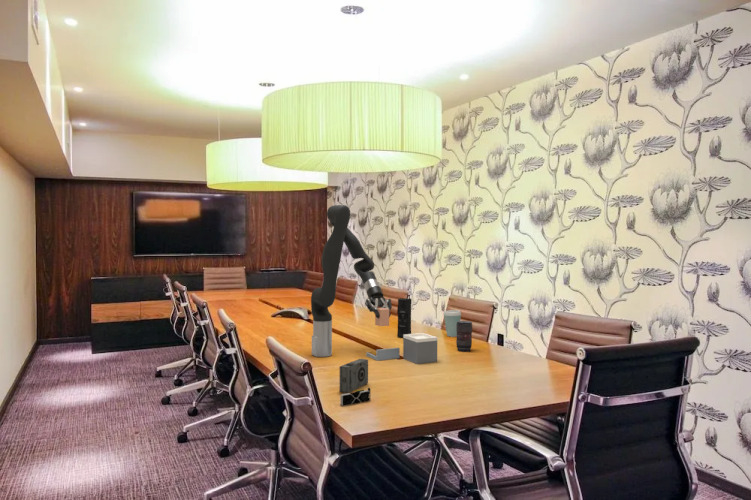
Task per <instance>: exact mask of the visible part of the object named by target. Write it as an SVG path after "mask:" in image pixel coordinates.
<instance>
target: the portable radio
mask: <svg viewBox="0 0 751 500" xmlns="http://www.w3.org/2000/svg"><path fill="white" fill-rule="evenodd" d="M408 295H409V297H408V298H405V297H400V298H398V299H397V309H396V315H397V333H396V334H397V338H399V337H400V338H402V339H403V335H405V334H412V302H413V301H412V298H411V294H408Z"/></svg>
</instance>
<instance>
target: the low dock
mask: <svg viewBox="0 0 751 500" xmlns="http://www.w3.org/2000/svg"><path fill="white" fill-rule="evenodd" d="M400 350H401V349H400V347H391V348H389V347H388V348H382V349H376V351H375V352H376V355H374V354H372V353H371V352H368V351H367V352H365V356H366V357H368V358H370V359H373V360H375V361H377V362H378V361H386V360H387V361H388V360H396V359H397V360H398V359H400V357H401V356H400V352H401V351H400Z"/></svg>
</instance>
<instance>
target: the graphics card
mask: <svg viewBox="0 0 751 500" xmlns="http://www.w3.org/2000/svg"><path fill="white" fill-rule="evenodd" d="M339 398H340V400H339V401H340V406H342V407H346V406H350V405H353V404H354V405H355V403H356V404H360V402H362V403H365V402H364V401H367V402H371V388H370V387H369V386H368V388H367V390H366V389H364V388H363V389H356V390H354V392H349V393H342V394H340V397H339Z"/></svg>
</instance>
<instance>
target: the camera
mask: <svg viewBox="0 0 751 500" xmlns="http://www.w3.org/2000/svg"><path fill="white" fill-rule="evenodd" d="M367 383H368V384H369V359H364V358H359V359H356V360H353V361H350V362H347V363H345V364H343V365H339V387H338V388H339V393H343V394H347V393H352V392H353V390H354V391H356V390H358V389H360V388H362V387H364V386H366V385H368V384H367ZM365 384H366V385H365ZM363 385H364V386H363ZM361 386H362V387H361ZM359 387H360V388H359ZM357 388H358V389H357ZM355 389H356V390H355Z"/></svg>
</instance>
